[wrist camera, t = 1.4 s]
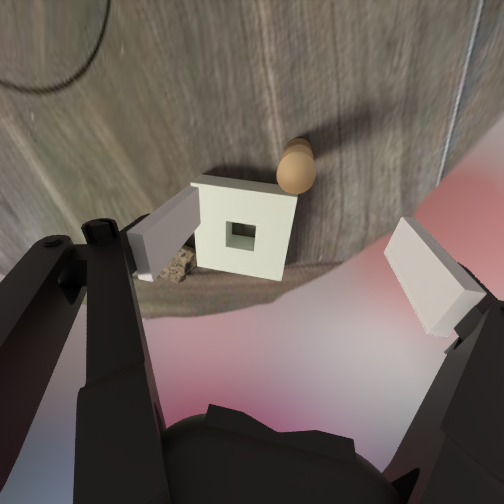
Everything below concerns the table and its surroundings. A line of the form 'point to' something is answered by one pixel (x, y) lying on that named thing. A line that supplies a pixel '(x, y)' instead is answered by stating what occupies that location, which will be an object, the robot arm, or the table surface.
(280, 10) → the table surface
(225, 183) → the socket block
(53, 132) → the table surface
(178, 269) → the rock
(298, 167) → the dowel
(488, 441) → the robot arm
